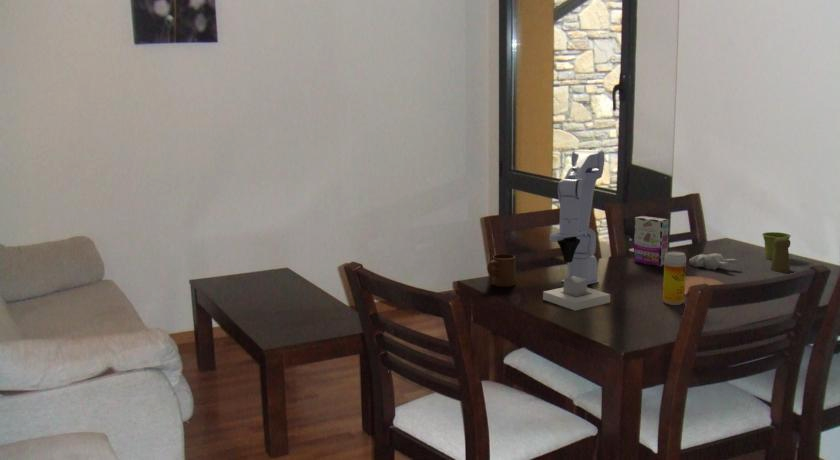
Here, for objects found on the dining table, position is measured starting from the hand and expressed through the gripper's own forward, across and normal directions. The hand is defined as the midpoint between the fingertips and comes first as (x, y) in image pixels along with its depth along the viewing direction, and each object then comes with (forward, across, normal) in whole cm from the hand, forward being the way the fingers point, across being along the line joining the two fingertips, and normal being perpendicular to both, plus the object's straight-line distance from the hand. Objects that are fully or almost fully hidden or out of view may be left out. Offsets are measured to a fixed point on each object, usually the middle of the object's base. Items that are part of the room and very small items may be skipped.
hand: (568, 261), depth 253 cm
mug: (+11, +9, -21) cm, 25 cm away
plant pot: (+9, -91, +15) cm, 92 cm away
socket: (+10, +3, +6) cm, 13 cm away
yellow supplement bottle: (+11, -18, +26) cm, 33 cm away
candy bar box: (+10, -51, -9) cm, 53 cm away
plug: (+10, +3, +6) cm, 12 cm away
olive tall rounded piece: (+10, -77, +25) cm, 82 cm away
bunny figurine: (+10, -62, +9) cm, 63 cm away
